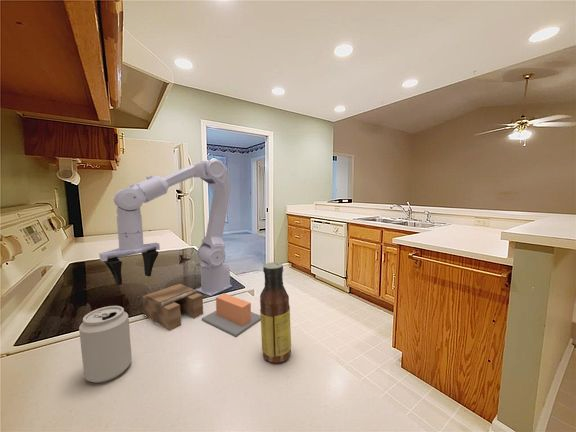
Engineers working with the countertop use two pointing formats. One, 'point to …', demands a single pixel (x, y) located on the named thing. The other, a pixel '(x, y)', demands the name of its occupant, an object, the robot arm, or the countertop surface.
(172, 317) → the brown wooden stand
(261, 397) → the countertop surface
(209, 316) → the mat
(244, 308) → the orange clay brick
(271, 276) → the sauce bottle
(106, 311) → the can
